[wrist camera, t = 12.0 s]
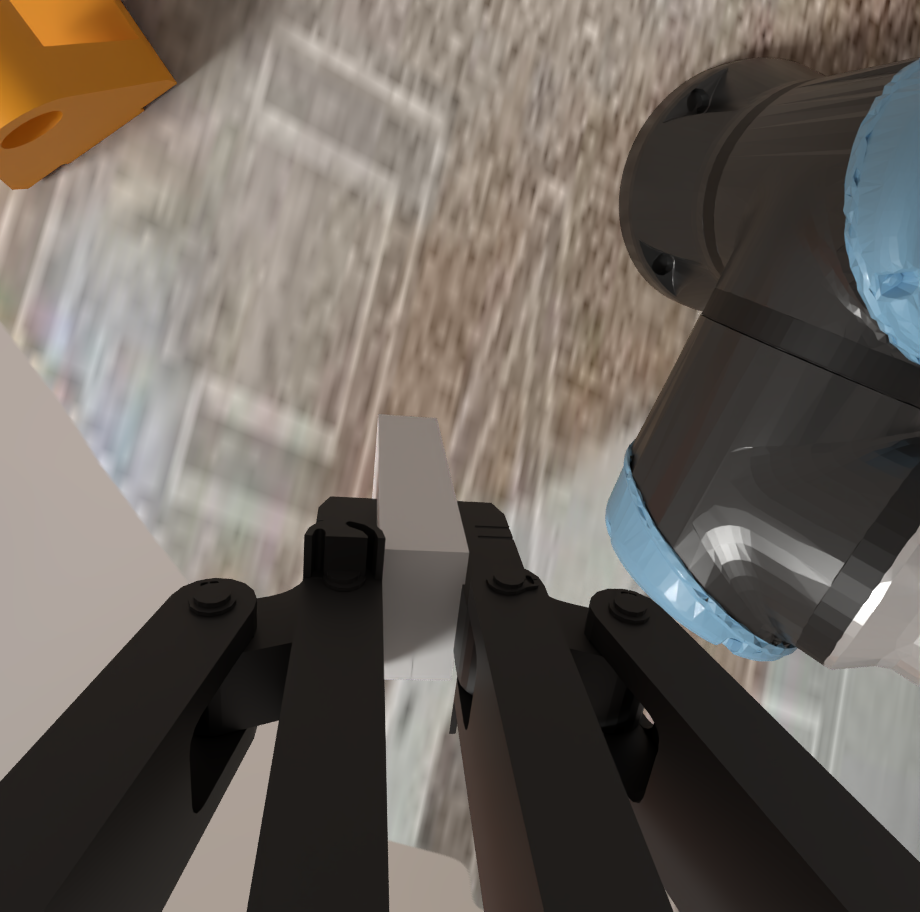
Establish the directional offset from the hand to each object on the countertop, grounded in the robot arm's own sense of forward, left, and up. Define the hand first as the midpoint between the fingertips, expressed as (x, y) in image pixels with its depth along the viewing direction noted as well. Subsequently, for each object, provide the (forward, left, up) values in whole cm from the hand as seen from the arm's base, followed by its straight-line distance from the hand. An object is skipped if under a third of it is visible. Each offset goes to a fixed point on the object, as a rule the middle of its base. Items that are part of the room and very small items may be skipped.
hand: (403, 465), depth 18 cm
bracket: (+19, -10, -30) cm, 37 cm away
